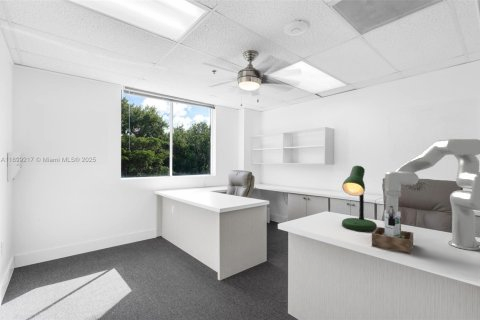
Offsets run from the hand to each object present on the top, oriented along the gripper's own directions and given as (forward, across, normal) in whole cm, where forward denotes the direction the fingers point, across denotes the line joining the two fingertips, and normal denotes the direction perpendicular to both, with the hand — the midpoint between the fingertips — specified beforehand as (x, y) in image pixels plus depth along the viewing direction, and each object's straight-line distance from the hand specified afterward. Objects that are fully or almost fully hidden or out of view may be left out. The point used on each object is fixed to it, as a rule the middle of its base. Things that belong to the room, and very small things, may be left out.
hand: (392, 223), depth 133 cm
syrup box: (+7, 0, 0) cm, 7 cm away
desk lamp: (+12, -23, -24) cm, 36 cm away
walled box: (+12, 0, 0) cm, 12 cm away
